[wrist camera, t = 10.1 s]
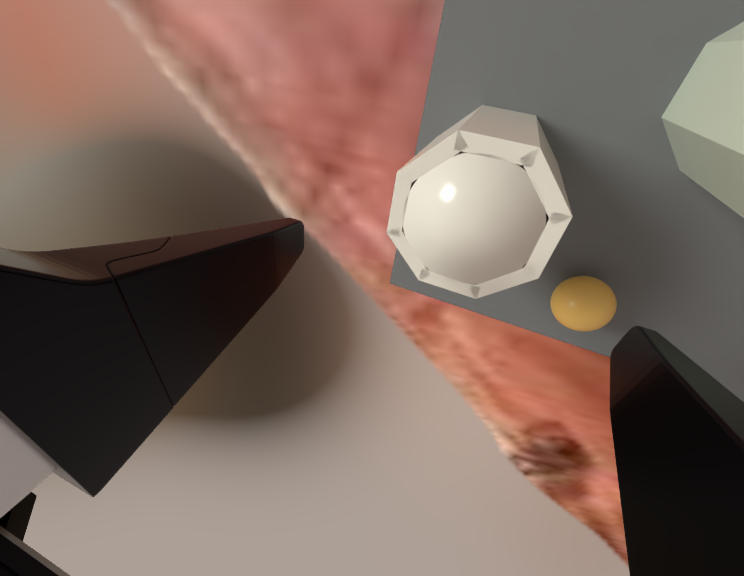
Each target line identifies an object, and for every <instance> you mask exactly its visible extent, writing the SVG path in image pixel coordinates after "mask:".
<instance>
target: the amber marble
mask: <svg viewBox="0 0 744 576" xmlns="http://www.w3.org/2000/svg"><path fill="white" fill-rule="evenodd" d="M550 305H551V310H552V313H553V315H554V316H555V318H556V319H557V320H558V321H559V322H560V323H561V324H562V325H564V326H565V327H567V328H570V329H572V330H576V331H593V330H597V329H599V328H601V327H603V326H605V325H606V324H607V323H609V322H610V320H611V319H612V318H613V316H614V314H615V312H616V307H617V301H616V297H615V294H614V292H613V291H612V289H611V288H610V287H609V286H608V285H607V284H606V283H604V282H603V281H601V280H599V279H597V278H594V277H590V276H576V277H571V278H569V279H566V280H564V281H563V282H561V283H560V284H559V285H558V286H557V287H556V288H555V290H554V291H553V293H552V296H551V301H550Z"/></svg>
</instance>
